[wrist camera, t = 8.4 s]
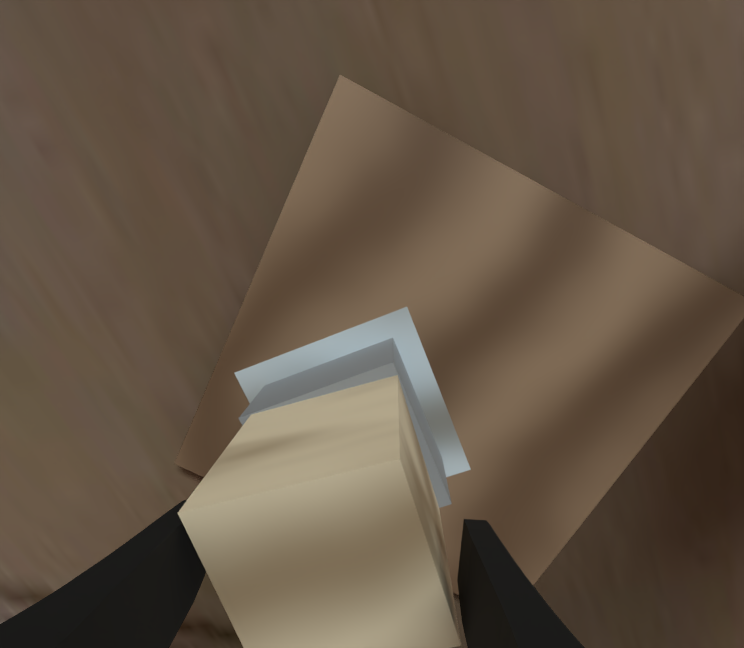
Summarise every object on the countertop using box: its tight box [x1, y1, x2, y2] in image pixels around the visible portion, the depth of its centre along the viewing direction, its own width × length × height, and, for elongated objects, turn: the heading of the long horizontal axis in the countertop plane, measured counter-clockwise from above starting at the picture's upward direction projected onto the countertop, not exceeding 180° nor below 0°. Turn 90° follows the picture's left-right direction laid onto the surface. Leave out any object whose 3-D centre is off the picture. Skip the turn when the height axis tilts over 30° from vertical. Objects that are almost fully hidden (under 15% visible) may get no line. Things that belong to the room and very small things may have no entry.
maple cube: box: [178, 375, 461, 648], centre depth 12 cm, size 6×6×5 cm
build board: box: [174, 75, 744, 595], centre depth 17 cm, size 18×18×1 cm
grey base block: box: [239, 338, 452, 508], centre depth 16 cm, size 6×6×3 cm
